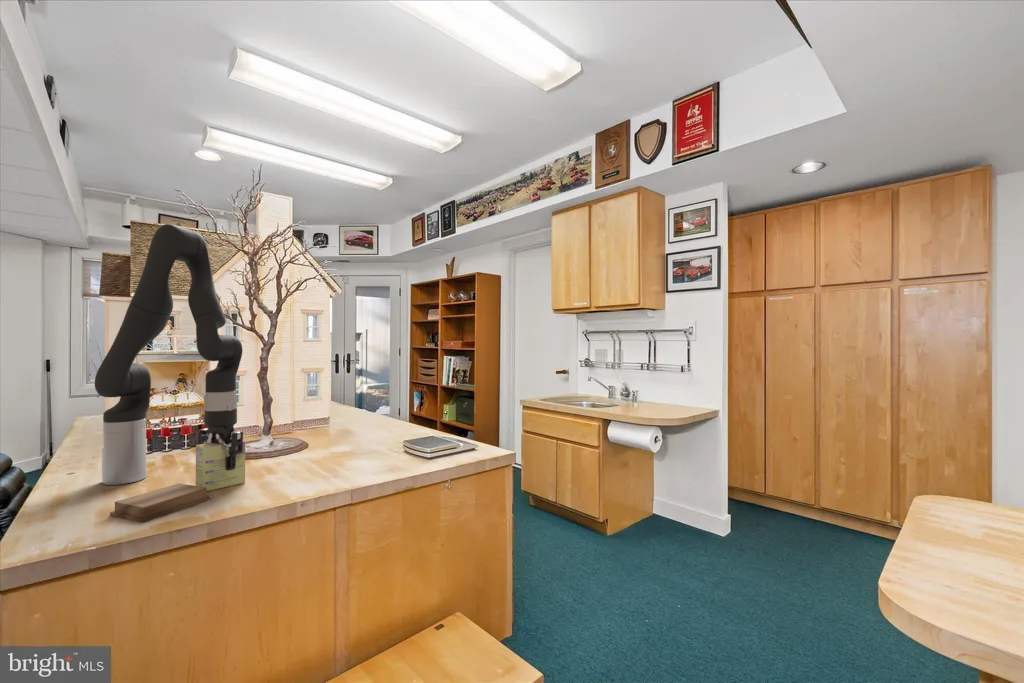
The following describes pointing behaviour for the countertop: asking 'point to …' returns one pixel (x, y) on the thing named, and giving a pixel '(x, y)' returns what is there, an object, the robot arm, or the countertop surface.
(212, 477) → the box
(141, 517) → the plinth
